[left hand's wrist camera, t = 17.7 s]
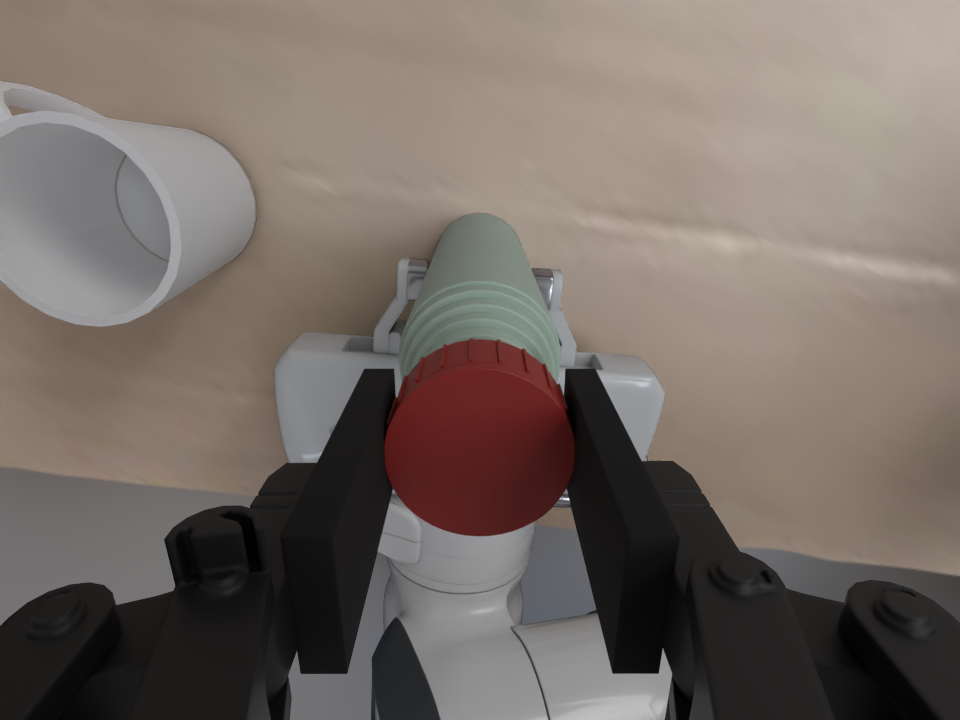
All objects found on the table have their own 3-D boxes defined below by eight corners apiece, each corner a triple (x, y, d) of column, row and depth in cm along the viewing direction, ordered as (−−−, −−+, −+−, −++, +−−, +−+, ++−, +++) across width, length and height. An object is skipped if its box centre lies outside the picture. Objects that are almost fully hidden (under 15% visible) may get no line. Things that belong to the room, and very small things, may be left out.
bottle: (439, 208, 34) (369, 329, 12) (528, 217, 34) (611, 351, 12) (433, 294, 36) (363, 530, 14) (517, 303, 36) (573, 548, 14)
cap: (376, 469, 15) (361, 514, 13) (416, 315, 14) (406, 341, 12) (534, 508, 16) (541, 557, 14) (590, 363, 14) (606, 395, 12)
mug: (296, 226, 34) (225, 260, 25) (184, 302, 36) (76, 361, 26) (170, 49, 31) (29, 9, 21) (52, 142, 32) (-128, 144, 23)
